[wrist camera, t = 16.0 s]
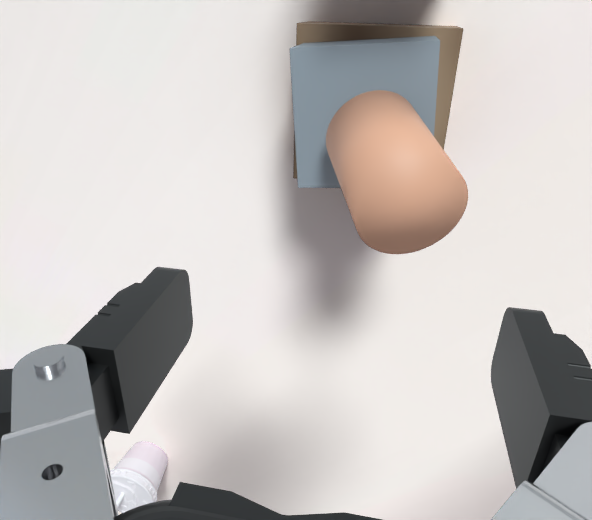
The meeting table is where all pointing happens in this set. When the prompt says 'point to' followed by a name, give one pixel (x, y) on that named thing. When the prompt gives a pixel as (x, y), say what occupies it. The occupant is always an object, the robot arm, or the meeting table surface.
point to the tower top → (354, 90)
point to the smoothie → (138, 475)
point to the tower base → (363, 31)
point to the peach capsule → (394, 174)
